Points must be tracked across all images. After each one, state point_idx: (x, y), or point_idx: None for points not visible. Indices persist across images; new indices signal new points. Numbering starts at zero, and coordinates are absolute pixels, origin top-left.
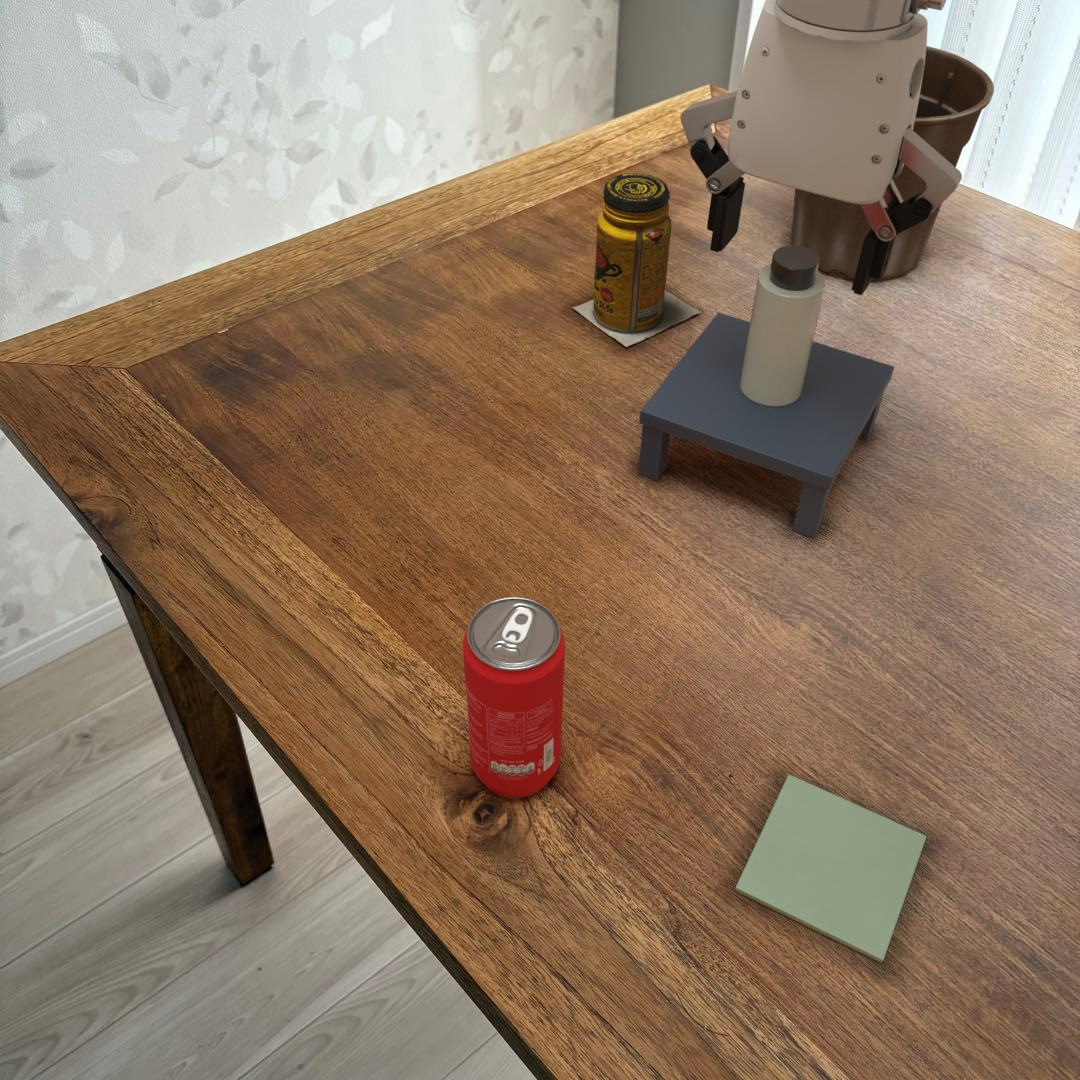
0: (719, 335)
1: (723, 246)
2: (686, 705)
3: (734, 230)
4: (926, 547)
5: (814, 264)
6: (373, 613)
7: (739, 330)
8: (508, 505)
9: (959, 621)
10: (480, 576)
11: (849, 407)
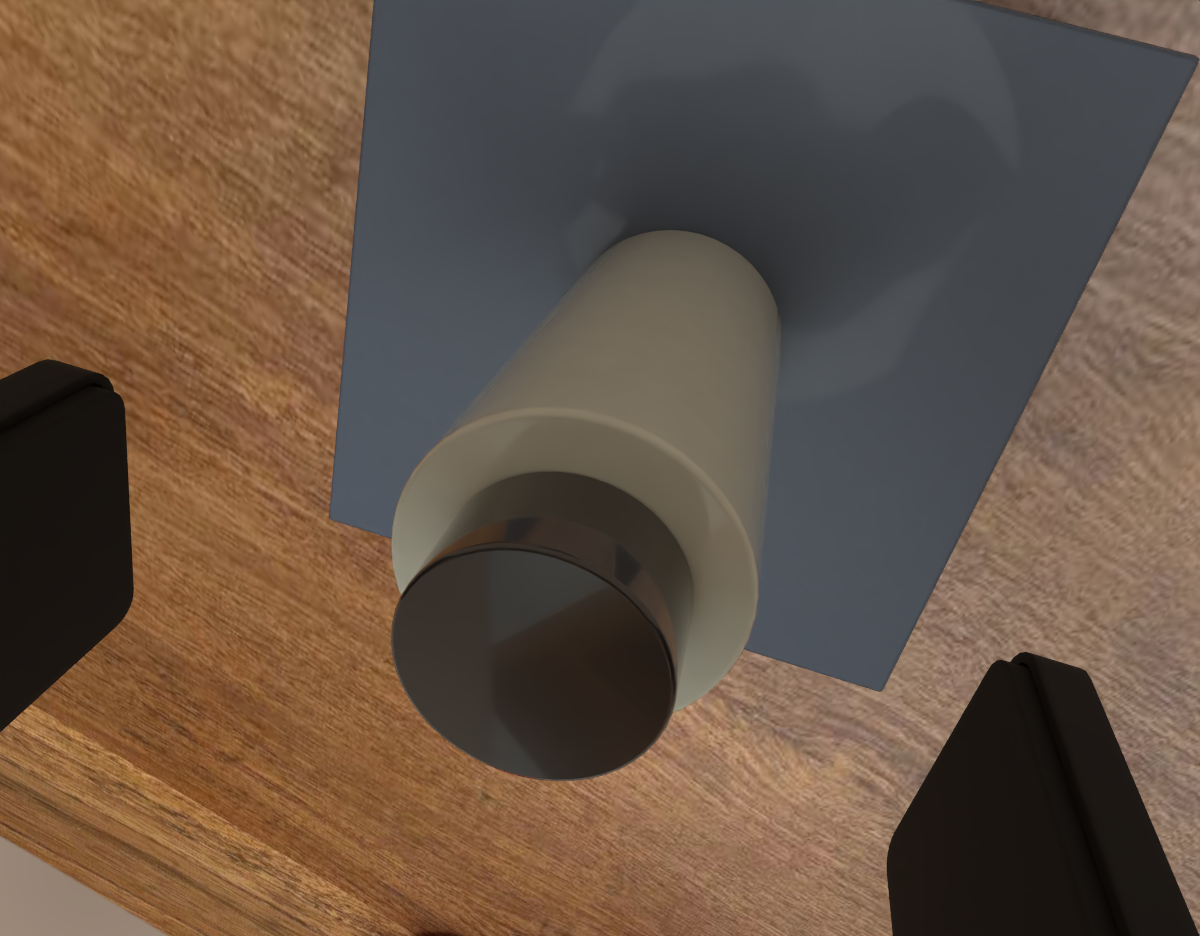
0: (435, 52)
1: (118, 590)
2: (654, 896)
3: (92, 465)
4: (1162, 534)
5: (648, 733)
6: (165, 787)
7: None
8: (224, 555)
9: (1190, 724)
10: (266, 712)
11: (958, 387)
